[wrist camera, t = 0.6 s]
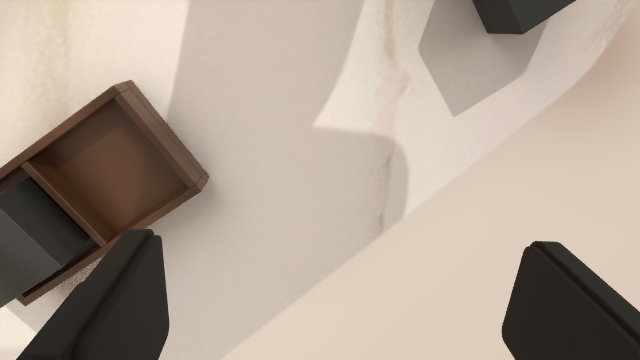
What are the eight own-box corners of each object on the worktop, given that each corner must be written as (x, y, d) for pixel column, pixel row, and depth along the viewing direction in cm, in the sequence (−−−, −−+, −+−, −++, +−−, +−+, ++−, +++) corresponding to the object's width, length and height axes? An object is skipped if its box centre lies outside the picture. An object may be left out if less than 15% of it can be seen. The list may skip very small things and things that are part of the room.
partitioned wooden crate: (131, 79, 24) (91, 91, 19) (209, 176, 26) (191, 208, 22) (-40, 204, 26) (-113, 242, 22) (47, 284, 29) (-2, 334, 24)
